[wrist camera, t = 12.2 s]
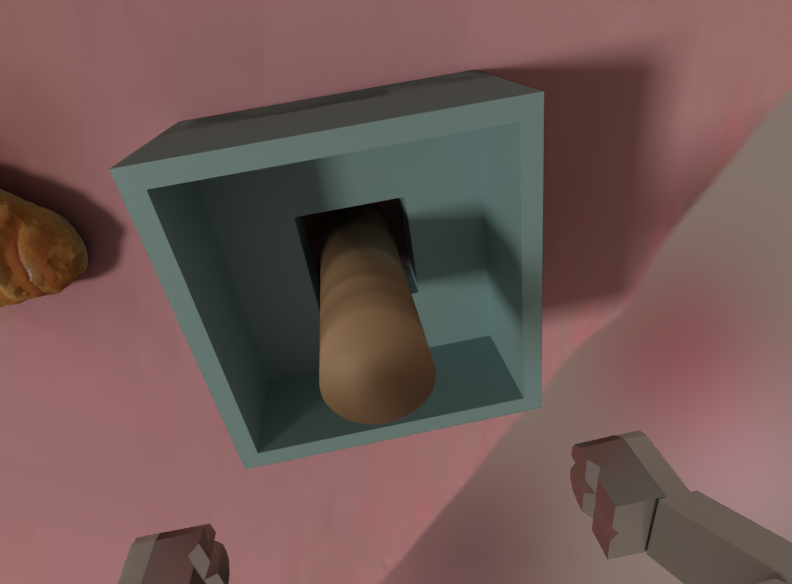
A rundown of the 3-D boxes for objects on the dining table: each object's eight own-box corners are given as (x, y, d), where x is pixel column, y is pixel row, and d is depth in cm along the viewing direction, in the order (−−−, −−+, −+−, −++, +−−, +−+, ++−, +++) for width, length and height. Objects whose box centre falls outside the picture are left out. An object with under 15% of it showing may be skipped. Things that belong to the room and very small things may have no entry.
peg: (313, 207, 24) (306, 345, 14) (383, 194, 24) (429, 321, 14) (329, 269, 26) (333, 433, 16) (394, 257, 26) (441, 411, 16)
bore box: (178, 122, 21) (109, 168, 14) (474, 70, 22) (544, 91, 15) (264, 359, 28) (245, 469, 21) (488, 315, 29) (540, 407, 22)
